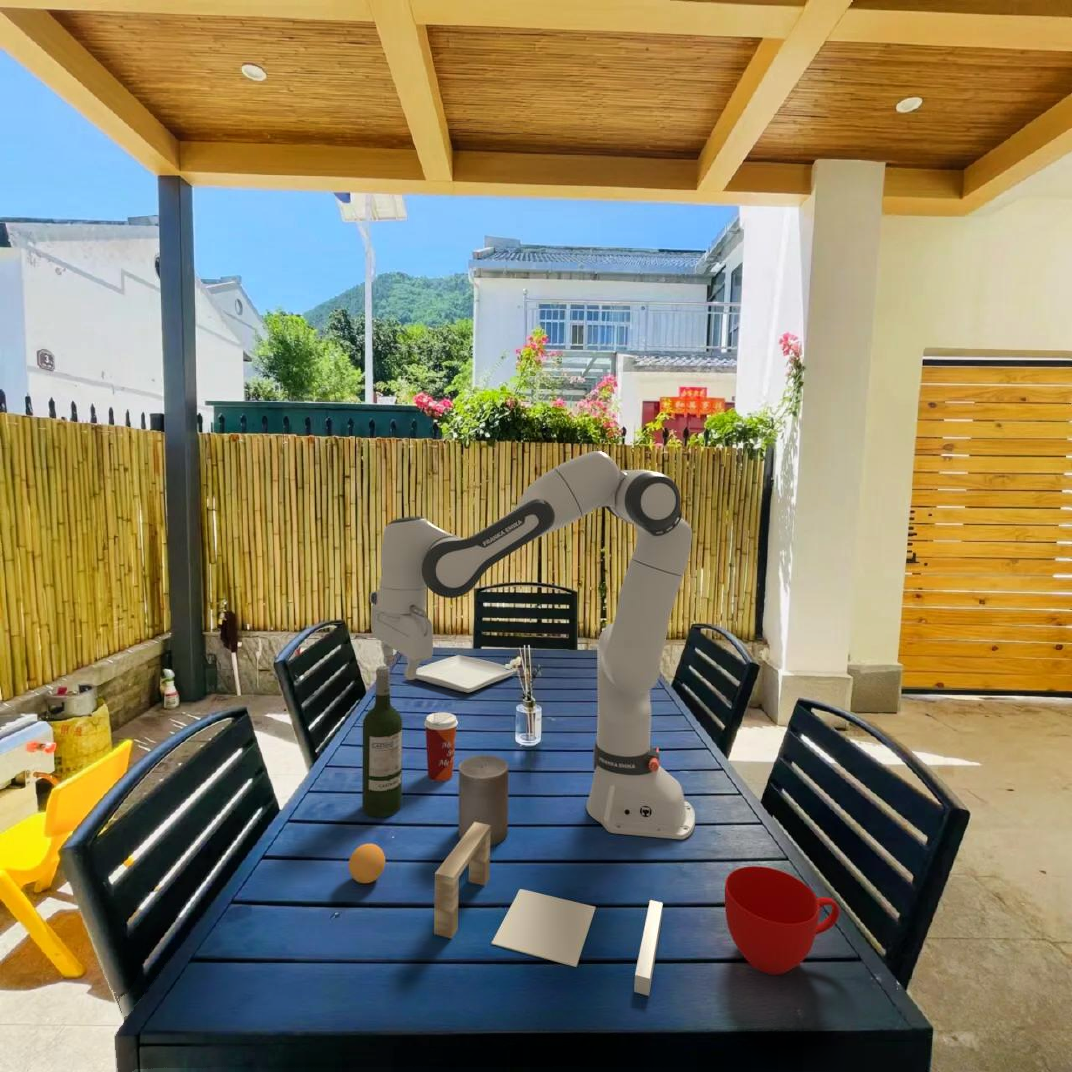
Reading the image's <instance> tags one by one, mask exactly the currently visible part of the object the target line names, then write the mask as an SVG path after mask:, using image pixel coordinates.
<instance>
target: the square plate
mask: <svg viewBox="0 0 1072 1072" xmlns="http://www.w3.org/2000/svg"><path fill="white" fill-rule="evenodd" d="M505 666H506V665H505V664H504V665H503V664H500V663H497V662H492V661H488V660H483V659H480V658H476V657H471V656H465V655H458V654H456V655H455V656H451V657H447V658H444V659H441V660H437V661H435V662H432V663H428V664H425V665H424V666H423V665H422V666H420V667H418V668H417V671H416V678H415V679H417V680H420V681H423V682H426V683H429V684H432V685H436V686H439V687H444V688H447V689H451V690H454V691H457V692H463V693H466V694H467V693H471V692H474V691H478V690H479V689H482V688H484V687H487V686H489V685H491V684H494V683H497V682H500V681H502V680H504V679H507V678H509V677H511V676H513V675H514V674H515V673H516V672H517V671H518V669H517V668H515V667H511V668H512V669H509V670H506V669H505ZM516 669H517V670H516Z"/></svg>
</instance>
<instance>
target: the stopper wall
mask: <svg viewBox="0 0 1072 1072" xmlns="http://www.w3.org/2000/svg"><path fill="white" fill-rule="evenodd" d="M663 906H664V905H663V902H661V901H656V900H652V899H650V900H649V905H648V908H647V914H646V919H645V924H644V929H643V933H642V939H641V944H640V948H639V954H638V958H637V963H636V968H635V974H634V988H633V989H634V990H633V992H634V993H638V994H641V995H644V996H648V997H650V992H651V985H652V981H653V974H654V969H655V962H656V955H657V949H658V945H659V944H658V942H659V937H660V931H661V924H662V918H663V908H664V907H663Z"/></svg>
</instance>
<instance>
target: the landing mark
mask: <svg viewBox="0 0 1072 1072" xmlns="http://www.w3.org/2000/svg"><path fill="white" fill-rule="evenodd" d="M596 908H597V907H596V906H593V905H590V904H584V903H581V902H577V901H576V902H575V901H572V900H568V899H563V898H558V897H555V896H551V895H547V894H542V893H539V892H534V891H531V890H527V889H521V888H519V890H518V892H517V894H516V896H515V898H514V900H513V902H512V904H511V905H510V907H509V909H508V910H507V913H506V915H505V917H504V919H503V921H502V923H501V924H500V927H499V928H498V930H497V932H496V934H495V935H494V937H493V940H491V945H494V946H497V947H500V948H503V949H504V948H505V949H507V950H512V951H515V952H519V953H523V954H526V955H530V956H535V957H537V958H538V957H539V958H541V959H544V960H550V961H552V962H556V963H560V964H564V965H567V966H571V967H575V968H577V966H578V964H579V960H580V957H581V954H582V951H583V947H584V945H585V943H586V942H585V941H586V938H587V936H588V933H589V930H590V926H591V924H592V920H593V917H594V915H595V911H596Z"/></svg>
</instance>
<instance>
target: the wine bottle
mask: <svg viewBox="0 0 1072 1072" xmlns="http://www.w3.org/2000/svg"><path fill="white" fill-rule="evenodd" d="M390 674H391V669H390V667H389V666H387V665H381V666H377V667H376V670H375V675H376V677H375V678H376V680H375V700H374V702H375V703H374V705H373V707H372V708H371V709H370V710H369V711H368V712H367V713H366V714H365V716H364V717H363V721H362V777H361V778H362V781H361V782H362V790H361V791H362V792H361V795H362V796H361V797H362V798H361V799H362V801H361V804H362V805H361V807H362V811H363V813H364V814H365V815H366V816H368V817H370V818H376V819H377V818H378V819H379V818H388V817H390V816H393V815H395V814H396V813H398V812H399V810H400V809H401V808H402V783H403V782H402V779H403V777H402V775H403V774H402V773H403V768H402V767H403V718H402V715H401V714H400V712H399V711H398V710H397V709H395V708H394V707H393V706H392V704H391V685H390V684H391V680H390V679H391V677H390V676H391V675H390Z"/></svg>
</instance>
